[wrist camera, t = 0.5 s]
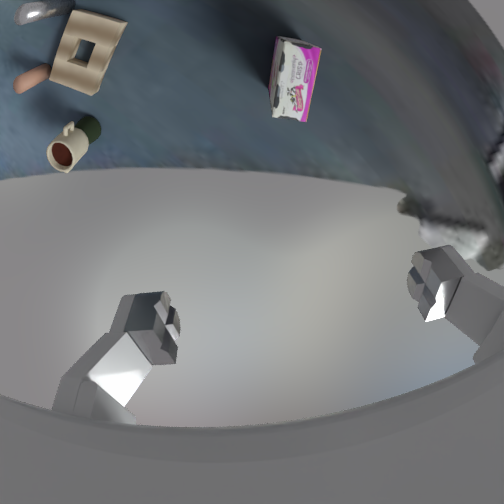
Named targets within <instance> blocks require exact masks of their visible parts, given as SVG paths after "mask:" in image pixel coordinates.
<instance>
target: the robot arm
mask: <svg viewBox="0 0 504 504" xmlns="http://www.w3.org/2000/svg"><path fill="white" fill-rule="evenodd" d="M411 262H412V264H413V267H412V269H411V270H410V271H409V273H408V277H407V285H408V290H409V293H410V295H411V296H412V298H413V299H415V300H417V301H418V302H419V303H418V309H419V311H420V313H421V314H422V316H423V318H424V320H425V322H426V321H430V320H433V319H437V318H440V317H444V316H445V318H446V319H447V320H448V321H450V322H451V323H452V324H454V325H455V326H456V327H457V328H458V329H460V330H461V331H462V332H463V333H464V334H466V335H467V336H468V337H470V338H471V339H472V340H473V341H474V342H476V343H477V344H478V345H479V346H480V347H479V348H478V350H477V351H476V353H475V354H474V356H473V360H474V362H475V365H473V366H471V367H469V368H467V369H465V370H462V371H460V372H458V373H456V374H454V375H451V376H449V377H447V378H444V379H442V380H440V381H437V382H434V383H432V384H429V385H427V386H424V387H421V388H419V389H416V390H413V391H410V392H408V393H405V394H401V395H398V396H395V397H392V398H389V399H386V400H382V401H379V402H375V403H372V404H368V405H365V406H361V407H357V408H353V409H349V410H344V411H340V412H335V413H331V414H326V415H321V416H315V417H310V418H304V419H297V420H291V421H284V422H276V423H267V424H258V425H245V426H230V427H163V426H146V425H136V417H135V415H134V414H133V413H131V412H130V411H129V410H127V409H126V408H125V407H124V406H125V405H126V404H127V402H128V401H129V399H130V398H131V396H132V395H133V393H134V392H135V391H136V389H137V388H138V386H139V385H140V384H141V382H142V381H143V379H144V378H145V377H146V375H147V374H148V372H149V371H150V370H151V368H152V365H164V364H165V365H166V364H175V363H176V357H177V350H178V347H177V345H176V343H175V341H176V339H177V338H178V337H179V336H180V319H179V316H178V313H177V311H176V309H175V308H173V307H172V306H170V301H171V299H170V297H169V295H168V293H167V292H165V291H162V292H152V293H140V294H133V295H124V296H123V297H122V298H121V301H120V304H119V306H118V309H117V312H116V314H115V317H114V320H113V323H112V326H111V329H110V332H109V333H105V334H104V335H103V336H102V337H101V338H100V339H99V340H98V341H97V342H96V343H95V344H94V345H93V346H92V347H91V348H90V349H89V350H88V351H87V352H86V353H85V354H84V355H83V356H82V357H81V358H80V359H79V360H78V361H77V362H76V363H75V364H74V365H73V366H72V367H71V368H70V369H69V370H68V371H67V372H66V373H65V374H64V375H63V376H62V378H61V380H60V384H59V387H58V390H57V393H56V396H55V400H54V403H53V407H52V410H49V409H45V408H42V407H38V406H34V405H31V404H27V403H24V402H21V401H18V400H15V399H12V398H9V397H6V396H4V395H1V394H0V504H504V287H503V286H501V285H499V284H498V283H496V282H494V281H492V280H490V279H489V278H487V277H485V276H483V275H481V274H479V273H474V271H473V270H472V269H471V268H470V266H469V265H468V264H467V263H466V262H465V260H464V259H463V258H462V257H461V256H460V254H459V253H458V252H457V251H456V250H455V249H454V247H453V246H451V245H446V246H441V247H438V248H433V249H428V250H423V251H418V252H415V253H414V255H413V257H412V261H411Z"/></svg>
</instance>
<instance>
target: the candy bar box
mask: <svg viewBox="0 0 504 504" xmlns="http://www.w3.org/2000/svg"><path fill="white" fill-rule="evenodd" d="M320 54H321V48H319V47H317V46H315V45H312V44H310V43H307V42H305V41H302V40H297V39H293V38H287V37H281V36H276V41H275V48H274V54H273V61H272V67H271V74H270V81H269V87H268V90H269V97H270V104H271V110H272V117H276V118H285V119H292V120H297V121H302V122H306V121H307V117H308V112H309V107H310V101H311V97H312V92H313V87H314V83H315V78H316V73H317V69H318V64H319V59H320Z"/></svg>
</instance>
